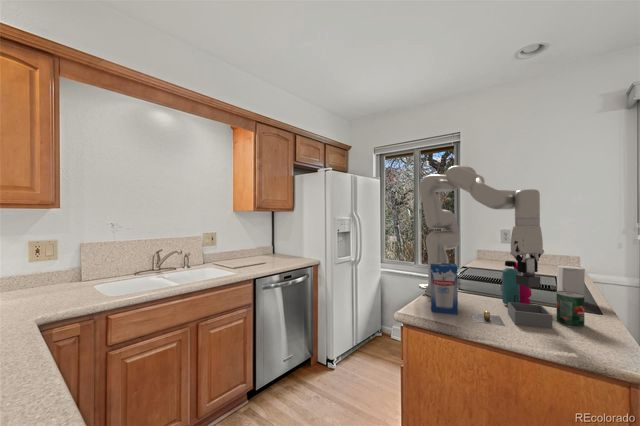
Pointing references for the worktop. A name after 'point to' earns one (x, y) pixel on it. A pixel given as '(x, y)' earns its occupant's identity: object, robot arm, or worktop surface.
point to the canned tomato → (570, 309)
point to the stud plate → (492, 319)
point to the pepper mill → (524, 292)
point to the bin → (529, 315)
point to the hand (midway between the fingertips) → (527, 271)
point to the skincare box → (570, 279)
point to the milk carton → (444, 288)
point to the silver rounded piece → (528, 275)
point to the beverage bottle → (510, 284)
